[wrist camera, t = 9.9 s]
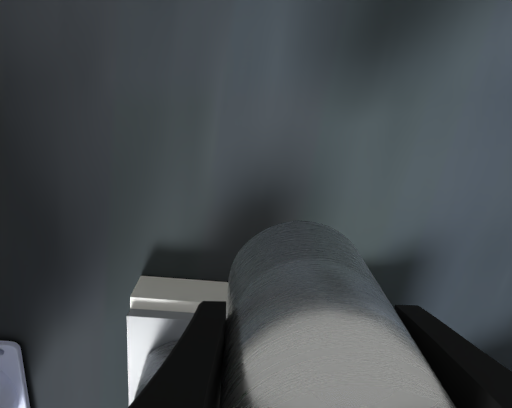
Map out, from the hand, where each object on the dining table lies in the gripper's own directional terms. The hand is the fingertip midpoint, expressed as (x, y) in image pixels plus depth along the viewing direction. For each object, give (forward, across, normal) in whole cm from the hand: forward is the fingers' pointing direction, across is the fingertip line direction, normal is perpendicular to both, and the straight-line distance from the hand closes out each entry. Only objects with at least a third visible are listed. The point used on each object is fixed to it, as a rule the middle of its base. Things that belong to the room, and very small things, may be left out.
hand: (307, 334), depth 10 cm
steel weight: (+2, 0, 0) cm, 2 cm away
